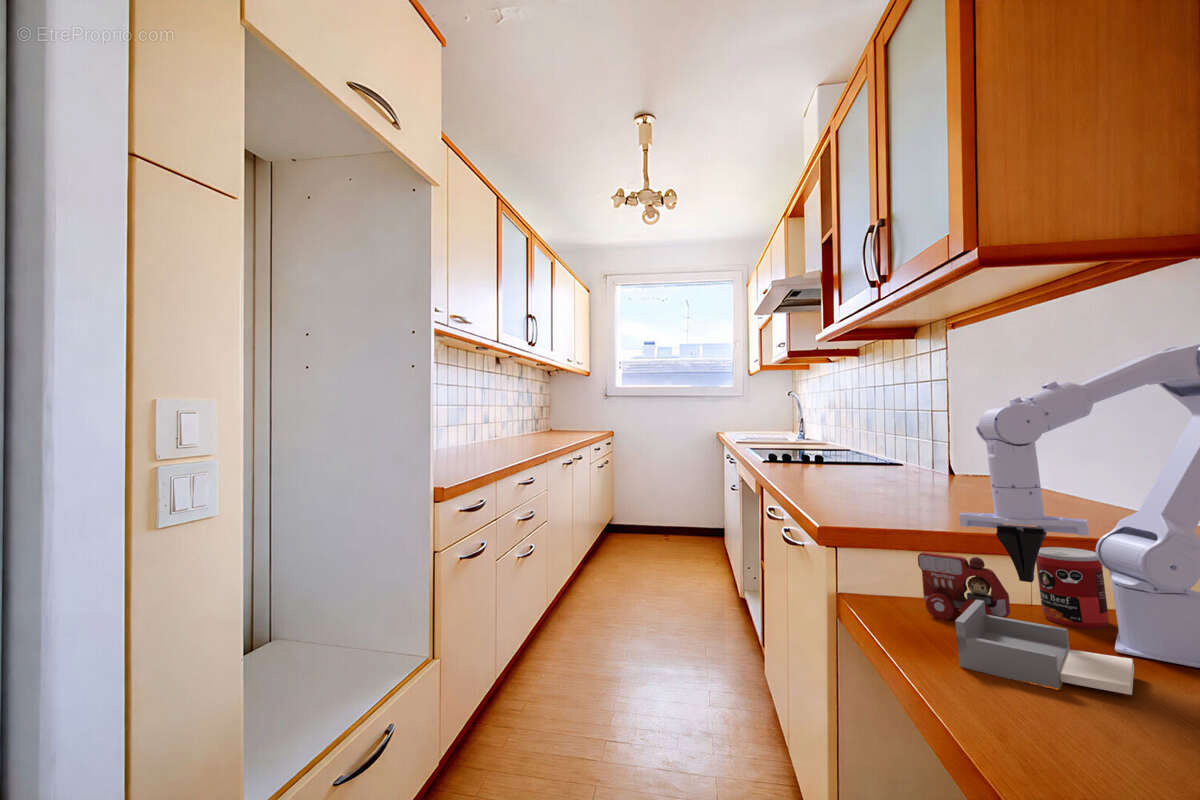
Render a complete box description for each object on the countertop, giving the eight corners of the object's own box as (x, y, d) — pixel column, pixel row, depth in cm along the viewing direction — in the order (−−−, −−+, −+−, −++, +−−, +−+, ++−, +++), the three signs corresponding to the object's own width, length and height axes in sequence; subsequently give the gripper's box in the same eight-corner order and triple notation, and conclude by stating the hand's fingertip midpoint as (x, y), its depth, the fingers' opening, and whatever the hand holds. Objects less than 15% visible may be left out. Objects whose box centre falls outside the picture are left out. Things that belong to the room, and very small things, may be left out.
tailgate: (1070, 660, 67) (1134, 670, 63) (1061, 685, 61) (1132, 698, 57) (1068, 649, 67) (1132, 658, 63) (1059, 673, 61) (1129, 685, 57)
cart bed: (1070, 659, 68) (1065, 613, 69) (1059, 691, 60) (1053, 639, 61) (980, 640, 76) (976, 599, 76) (960, 666, 68) (955, 620, 68)
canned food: (1030, 613, 85) (1022, 547, 86) (1079, 612, 85) (1070, 545, 86) (1071, 630, 78) (1061, 558, 79) (1124, 628, 77) (1114, 555, 78)
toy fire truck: (1006, 633, 78) (998, 565, 79) (916, 615, 87) (910, 554, 88) (1016, 621, 82) (1008, 557, 83) (929, 605, 92) (924, 547, 93)
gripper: (950, 487, 77) (960, 577, 76) (1079, 490, 67) (1093, 596, 65) (962, 483, 82) (971, 568, 81) (1084, 486, 71) (1097, 584, 70)
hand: (1026, 580), depth 73 cm, fingers closed
